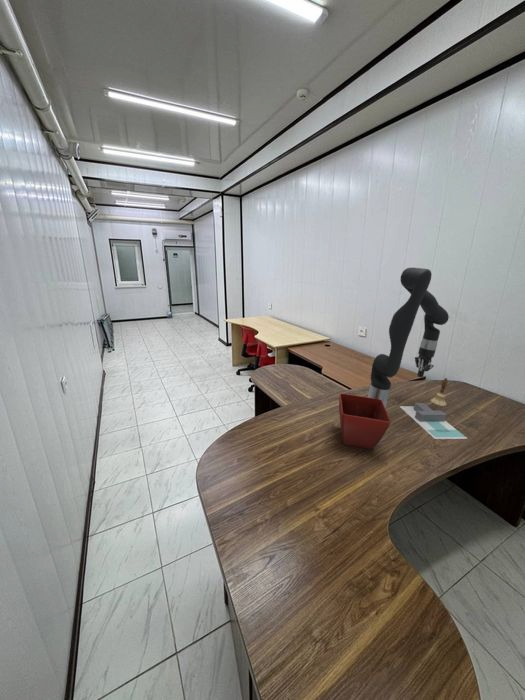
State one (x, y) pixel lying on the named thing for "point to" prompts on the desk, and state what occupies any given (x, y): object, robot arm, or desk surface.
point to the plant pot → (362, 420)
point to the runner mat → (426, 426)
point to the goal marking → (443, 430)
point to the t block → (428, 413)
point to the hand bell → (440, 395)
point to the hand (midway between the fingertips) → (419, 376)
